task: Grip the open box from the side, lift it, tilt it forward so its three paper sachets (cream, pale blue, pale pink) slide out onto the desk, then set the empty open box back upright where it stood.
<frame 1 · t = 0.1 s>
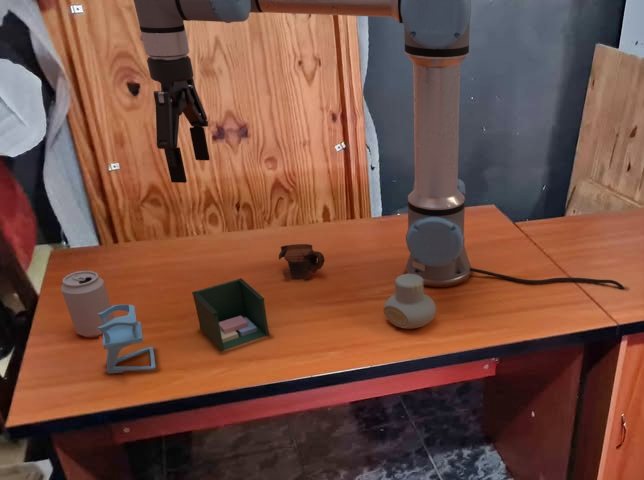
hand: (191, 170, 136), 28 cm above the table, tool pointing down, fingers open, 13 cm apart
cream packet: (225, 335, 136), point 1 cm above the table, touching open box, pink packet
air freshener: (410, 322, 144), on the table
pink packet: (233, 326, 137), point 2 cm above the table, touching blue packet, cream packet
blue packet: (244, 328, 139), point 1 cm above the table, touching open box, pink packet
open box: (235, 334, 138), on the table, touching blue packet, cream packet
can: (97, 330, 138), on the table
pottery mug: (303, 273, 161), on the table
chair: (131, 366, 128), on the table
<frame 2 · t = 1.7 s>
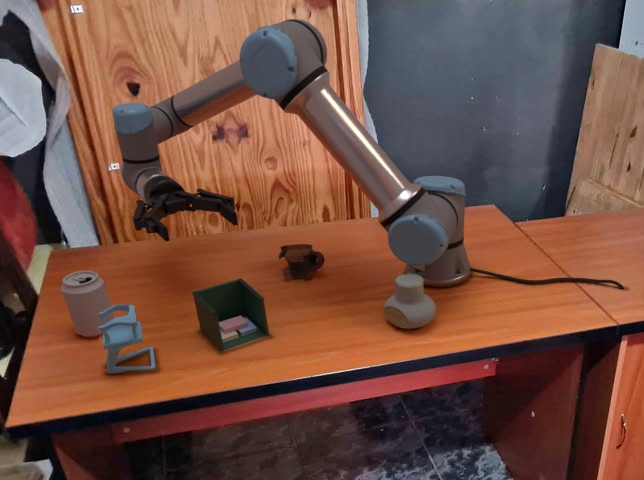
hand: (201, 226, 132), 21 cm above the table, tool horizontal, fingers open, 13 cm apart
nothing on the table moved.
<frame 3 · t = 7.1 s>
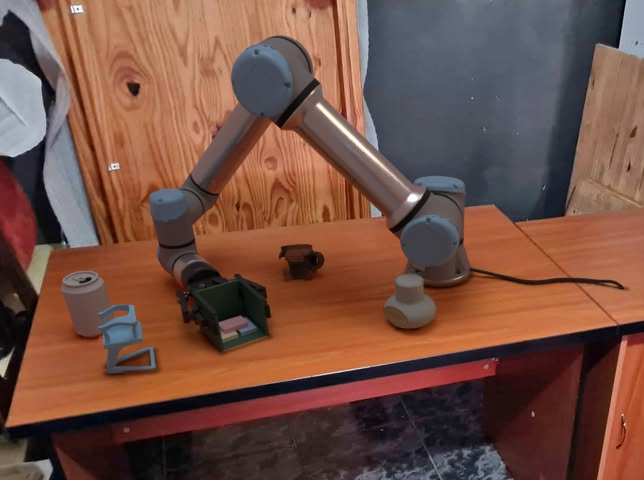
hand: (242, 320, 131), 6 cm above the table, tool horizontal, fingers closed on open box, 10 cm apart
open box: (235, 334, 138), on the table, touching blue packet, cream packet, gripper
everything else where it was.
when the fingers open (6 cm above the table, at t = 19.9 s): open box stays where it is, on the table.
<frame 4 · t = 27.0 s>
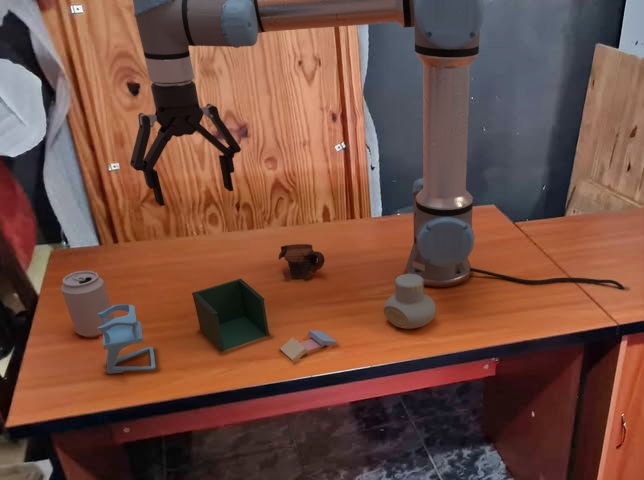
hand: (195, 196, 133), 25 cm above the table, tool pointing down, fingers open, 13 cm apart
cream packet: (292, 348, 131), point 2 cm above the table, tilted 154°, touching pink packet
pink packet: (308, 345, 134), point 1 cm above the table, tilted 180°, touching blue packet, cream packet
blue packet: (323, 335, 135), point 2 cm above the table, tilted 155°, touching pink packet
open box: (235, 334, 138), on the table
everything else where it was.
at the end: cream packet inside the target area (6.2 cm from its centre), point 1.6 cm above the table; blue packet inside the target area (1.4 cm from its centre), point 1.6 cm above the table; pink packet inside the target area (3.0 cm from its centre), point 1.0 cm above the table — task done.
